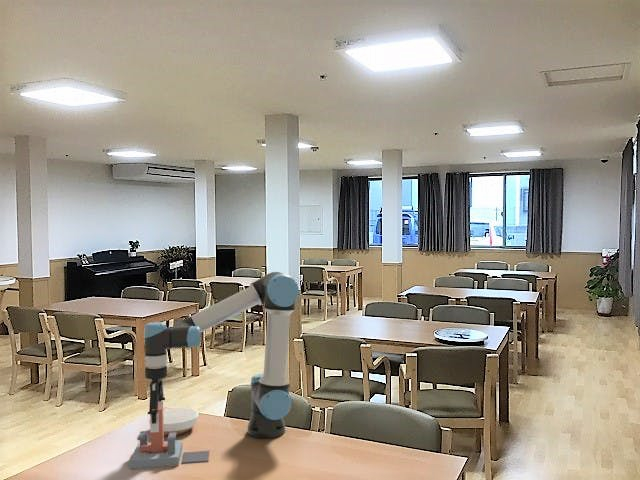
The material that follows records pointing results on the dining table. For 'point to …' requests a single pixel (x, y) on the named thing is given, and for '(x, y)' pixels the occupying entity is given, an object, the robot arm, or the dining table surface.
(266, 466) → the dining table surface
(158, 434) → the orange tabbed bar
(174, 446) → the eye block
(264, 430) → the robot arm
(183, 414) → the bowl
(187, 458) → the mat
